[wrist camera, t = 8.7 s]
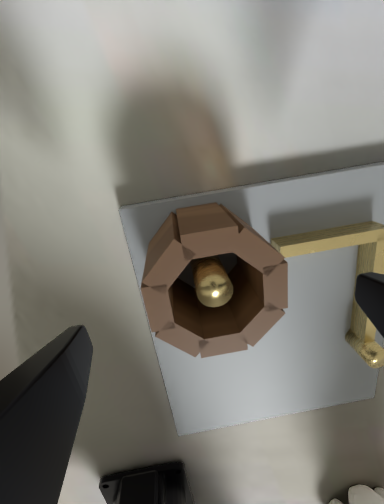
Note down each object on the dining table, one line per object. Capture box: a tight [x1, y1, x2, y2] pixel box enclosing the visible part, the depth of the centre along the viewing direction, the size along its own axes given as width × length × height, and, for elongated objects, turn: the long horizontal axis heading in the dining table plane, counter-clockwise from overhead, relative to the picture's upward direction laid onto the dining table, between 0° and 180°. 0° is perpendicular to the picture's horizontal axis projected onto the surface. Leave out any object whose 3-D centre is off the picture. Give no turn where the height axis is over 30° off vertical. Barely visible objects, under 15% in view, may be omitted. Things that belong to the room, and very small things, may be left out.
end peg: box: [190, 255, 233, 307], centre depth 11 cm, size 1×1×4 cm
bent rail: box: [271, 221, 384, 368], centre depth 14 cm, size 8×6×2 cm
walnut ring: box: [140, 202, 288, 358], centre depth 11 cm, size 5×5×4 cm
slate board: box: [119, 162, 384, 436], centre depth 15 cm, size 16×14×1 cm
